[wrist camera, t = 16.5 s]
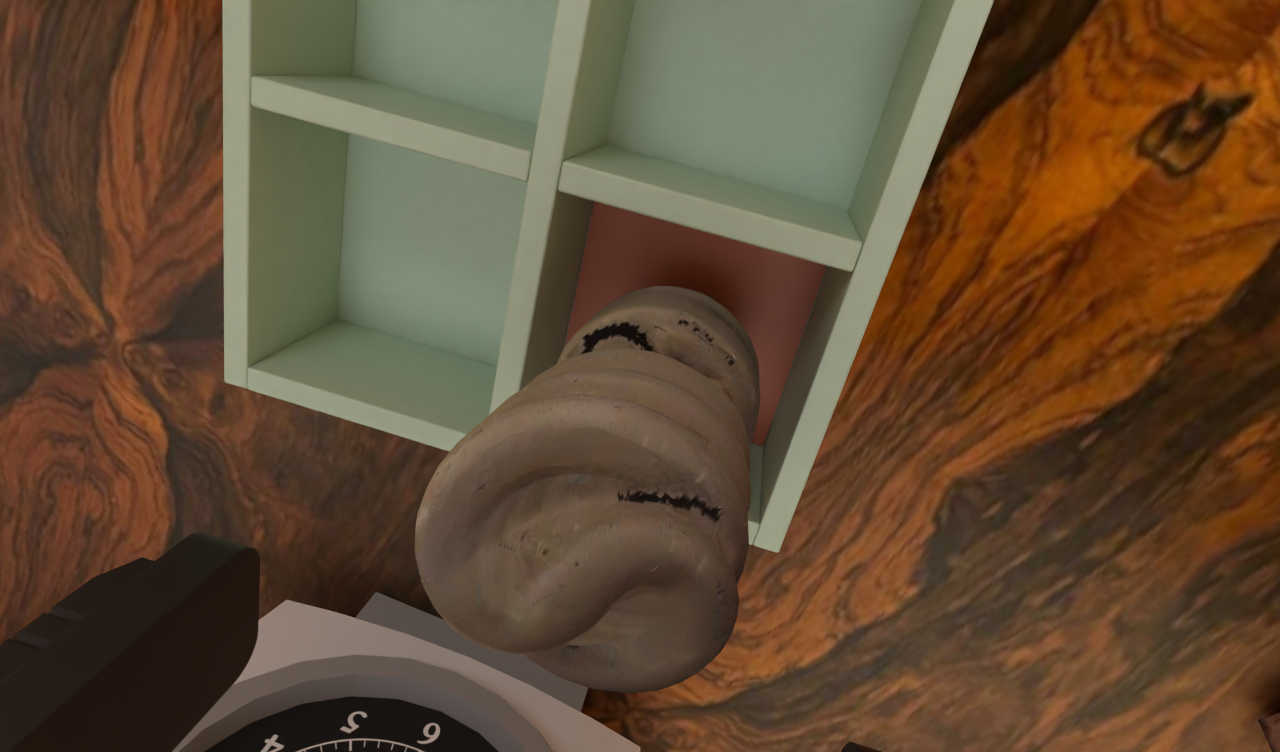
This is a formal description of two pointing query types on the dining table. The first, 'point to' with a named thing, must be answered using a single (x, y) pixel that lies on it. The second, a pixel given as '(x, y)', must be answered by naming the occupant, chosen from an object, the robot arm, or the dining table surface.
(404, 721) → the alarm clock
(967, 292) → the dining table surface
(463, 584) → the grey-beige cylinder
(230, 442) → the dining table surface
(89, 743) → the robot arm
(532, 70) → the divided tray
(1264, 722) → the ceramic vessel
